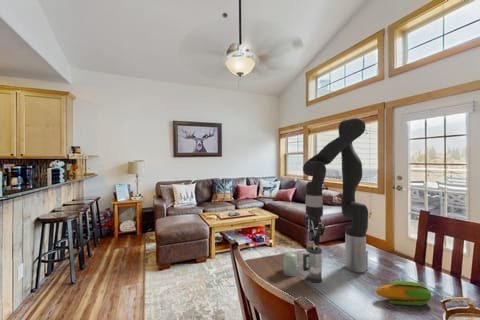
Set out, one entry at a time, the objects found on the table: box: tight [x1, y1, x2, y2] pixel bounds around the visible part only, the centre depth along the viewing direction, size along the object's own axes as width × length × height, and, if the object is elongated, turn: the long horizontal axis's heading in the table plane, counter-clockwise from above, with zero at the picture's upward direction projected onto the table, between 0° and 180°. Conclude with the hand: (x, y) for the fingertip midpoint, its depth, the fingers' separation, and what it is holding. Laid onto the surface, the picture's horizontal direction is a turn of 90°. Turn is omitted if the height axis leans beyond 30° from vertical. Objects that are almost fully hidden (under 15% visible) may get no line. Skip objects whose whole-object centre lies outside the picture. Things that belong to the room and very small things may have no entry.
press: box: [302, 245, 323, 285], centre depth 101 cm, size 9×7×14 cm
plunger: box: [310, 231, 317, 250], centre depth 101 cm, size 4×4×14 cm
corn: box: [375, 280, 432, 306], centre depth 85 cm, size 7×8×20 cm
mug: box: [283, 251, 298, 277], centre depth 108 cm, size 6×8×9 cm
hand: (314, 241), depth 101 cm, fingers closed on plunger, 3 cm apart
